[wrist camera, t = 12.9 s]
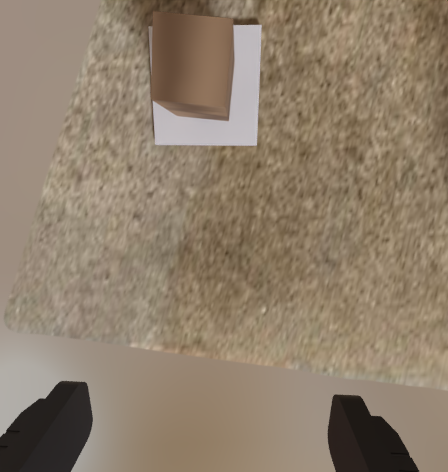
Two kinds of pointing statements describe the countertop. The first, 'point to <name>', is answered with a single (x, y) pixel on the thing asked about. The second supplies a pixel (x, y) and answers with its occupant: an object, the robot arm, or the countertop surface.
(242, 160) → the countertop surface
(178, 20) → the walnut block
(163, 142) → the ceramic tile
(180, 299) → the countertop surface
